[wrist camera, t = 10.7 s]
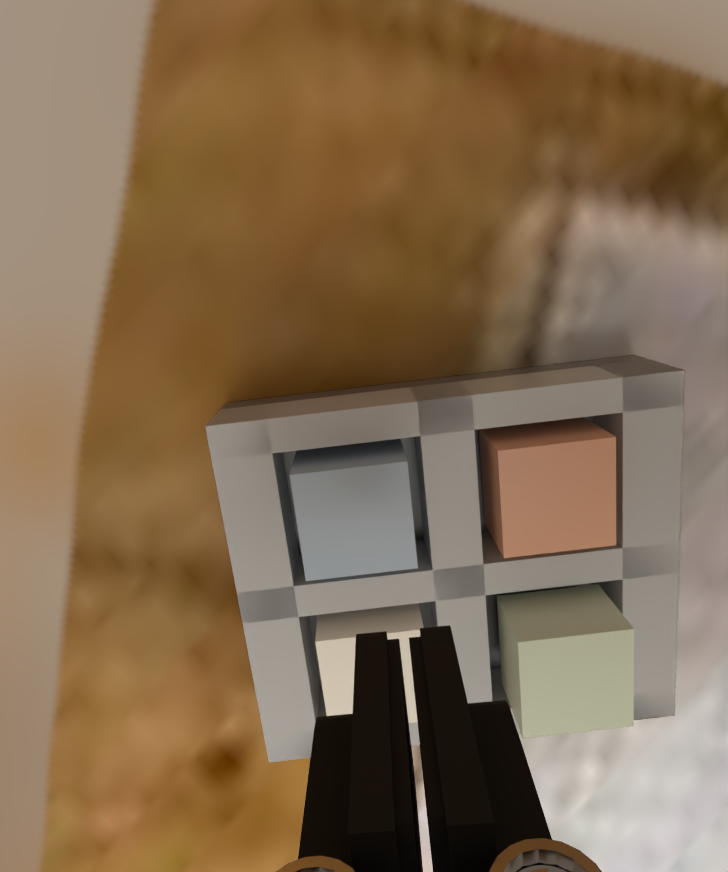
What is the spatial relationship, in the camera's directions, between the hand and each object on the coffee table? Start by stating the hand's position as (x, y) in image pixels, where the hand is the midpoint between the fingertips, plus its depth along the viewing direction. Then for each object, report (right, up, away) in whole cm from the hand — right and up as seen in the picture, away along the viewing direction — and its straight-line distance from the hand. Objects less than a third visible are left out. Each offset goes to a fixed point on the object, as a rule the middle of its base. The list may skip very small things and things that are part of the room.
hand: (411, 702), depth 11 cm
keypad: (+2, +1, +12) cm, 12 cm away
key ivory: (-1, -2, +11) cm, 11 cm away
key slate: (-1, +3, +10) cm, 10 cm away
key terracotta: (+5, +3, +10) cm, 11 cm away
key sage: (+5, -2, +10) cm, 12 cm away
